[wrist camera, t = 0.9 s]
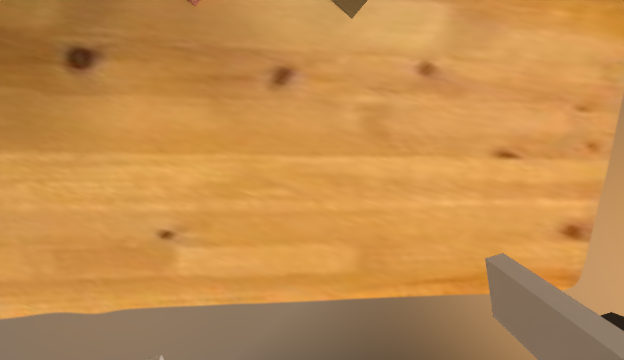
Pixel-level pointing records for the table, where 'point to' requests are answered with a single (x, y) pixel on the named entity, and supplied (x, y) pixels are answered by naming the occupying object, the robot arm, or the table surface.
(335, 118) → the table surface
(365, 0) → the grey hollow block
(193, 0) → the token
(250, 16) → the table surface
